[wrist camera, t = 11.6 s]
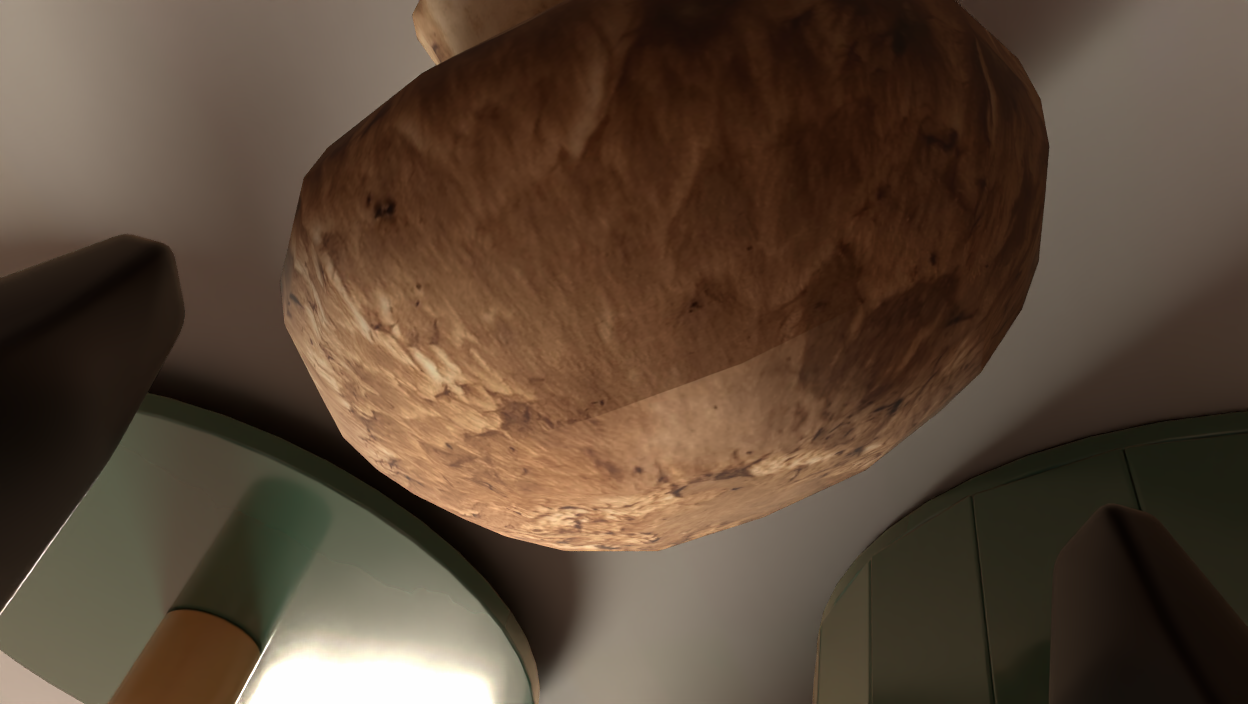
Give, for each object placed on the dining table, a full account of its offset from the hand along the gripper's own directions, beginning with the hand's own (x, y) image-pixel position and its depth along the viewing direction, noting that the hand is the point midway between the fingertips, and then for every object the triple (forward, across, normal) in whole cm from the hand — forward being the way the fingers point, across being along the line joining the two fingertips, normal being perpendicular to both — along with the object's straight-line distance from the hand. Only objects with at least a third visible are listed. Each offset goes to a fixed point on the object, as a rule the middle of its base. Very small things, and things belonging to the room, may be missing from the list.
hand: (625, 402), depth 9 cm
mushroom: (+5, 0, 0) cm, 5 cm away
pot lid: (+4, +8, +15) cm, 17 cm away
